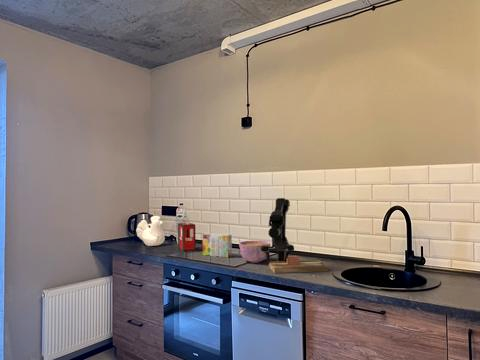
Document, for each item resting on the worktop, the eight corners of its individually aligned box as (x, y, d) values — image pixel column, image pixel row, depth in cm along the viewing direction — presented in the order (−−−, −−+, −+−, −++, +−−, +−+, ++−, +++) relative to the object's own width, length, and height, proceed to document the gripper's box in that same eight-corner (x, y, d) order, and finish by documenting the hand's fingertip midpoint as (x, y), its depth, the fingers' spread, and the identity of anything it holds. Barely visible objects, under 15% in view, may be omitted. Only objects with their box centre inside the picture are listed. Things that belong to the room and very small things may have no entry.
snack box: (232, 256, 226) (232, 234, 226) (227, 258, 221) (227, 235, 222) (207, 253, 237) (206, 232, 237) (202, 255, 232) (202, 233, 232)
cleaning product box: (195, 251, 246) (195, 224, 246) (183, 252, 242) (183, 225, 243) (189, 248, 261) (189, 222, 261) (178, 249, 257) (177, 223, 258)
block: (286, 263, 195) (286, 256, 195) (296, 262, 195) (296, 255, 195) (289, 265, 189) (289, 258, 189) (299, 265, 189) (299, 257, 189)
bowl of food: (268, 265, 198) (268, 246, 198) (236, 264, 202) (235, 245, 202) (272, 258, 217) (272, 240, 218) (242, 257, 221) (242, 240, 222)
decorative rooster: (168, 245, 278) (168, 215, 278) (155, 248, 264) (155, 216, 265) (146, 243, 290) (146, 214, 291) (132, 245, 276) (132, 215, 277)
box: (269, 266, 195) (269, 261, 195) (318, 264, 198) (318, 259, 198) (274, 273, 179) (274, 268, 179) (328, 271, 183) (328, 265, 183)
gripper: (263, 238, 183) (263, 266, 182) (296, 237, 184) (296, 265, 184) (260, 235, 194) (260, 262, 193) (291, 234, 196) (291, 261, 195)
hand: (277, 262), depth 191 cm, fingers open, 9 cm apart
